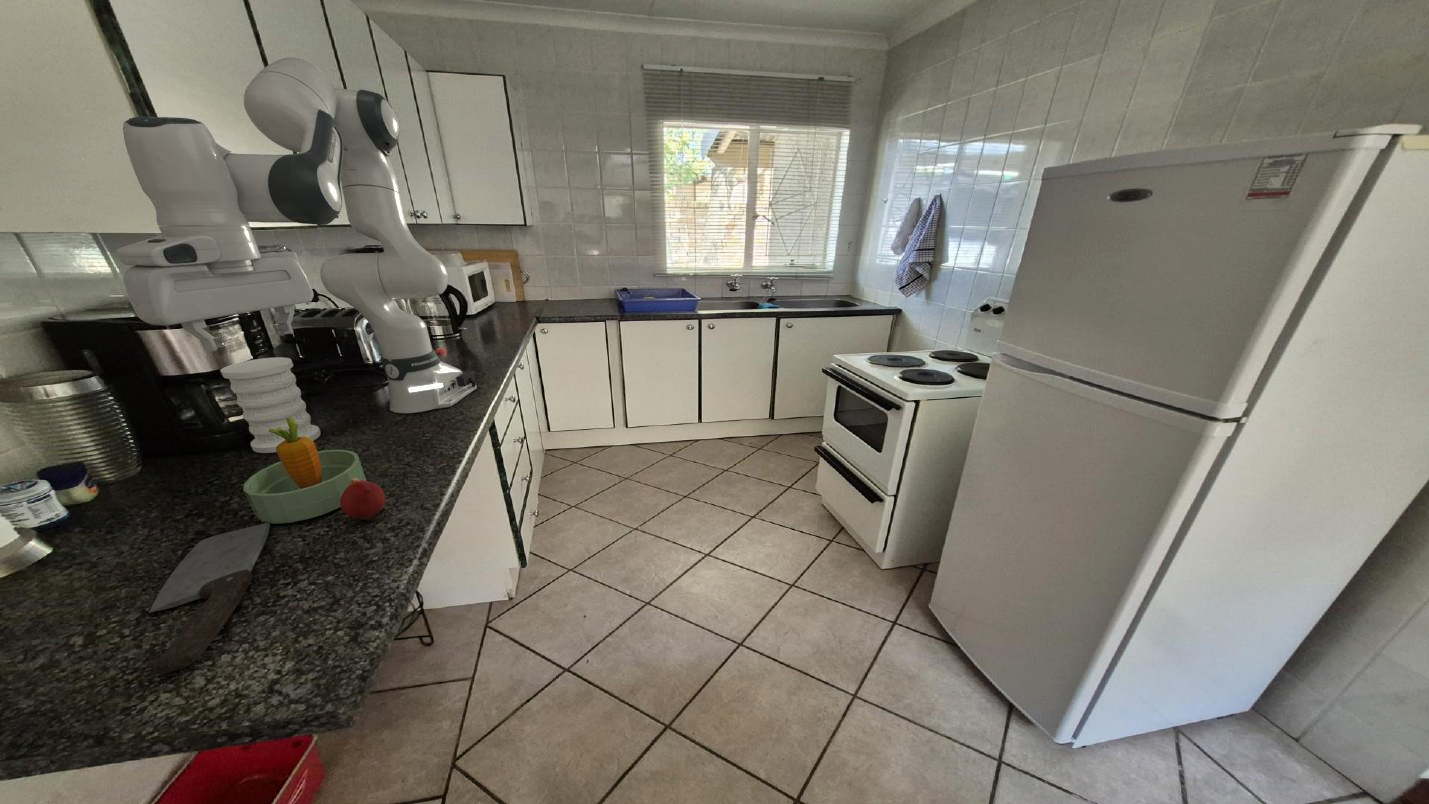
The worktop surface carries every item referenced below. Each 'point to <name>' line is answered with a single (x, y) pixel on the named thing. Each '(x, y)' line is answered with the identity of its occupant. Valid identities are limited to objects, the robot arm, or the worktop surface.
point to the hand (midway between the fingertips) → (252, 341)
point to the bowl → (288, 502)
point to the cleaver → (208, 590)
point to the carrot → (298, 456)
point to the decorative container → (269, 400)
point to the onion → (362, 499)
